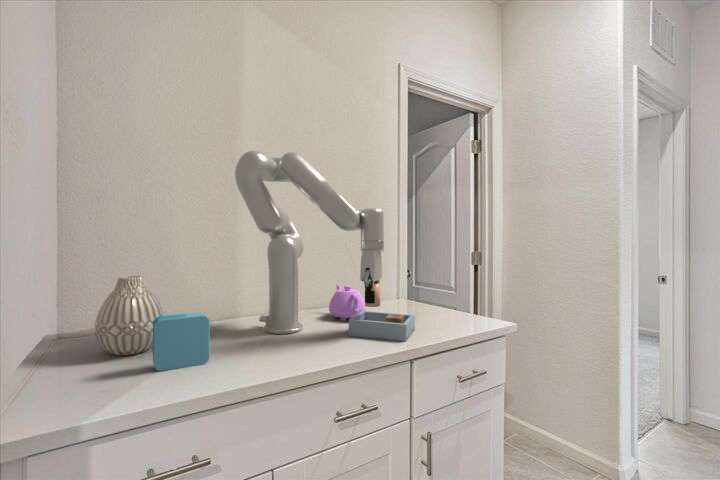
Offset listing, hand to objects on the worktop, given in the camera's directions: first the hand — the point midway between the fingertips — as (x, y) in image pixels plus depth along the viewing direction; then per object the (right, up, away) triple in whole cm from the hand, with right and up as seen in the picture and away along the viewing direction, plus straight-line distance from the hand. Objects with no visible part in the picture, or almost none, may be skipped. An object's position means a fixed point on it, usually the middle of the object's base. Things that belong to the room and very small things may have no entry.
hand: (372, 301), depth 124 cm
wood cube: (+7, -10, -2) cm, 12 cm away
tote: (+3, -10, -1) cm, 11 cm away
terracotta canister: (0, -1, 0) cm, 1 cm away
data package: (-47, -10, -33) cm, 58 cm away
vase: (-66, -10, -22) cm, 70 cm away
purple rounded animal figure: (-9, -10, +21) cm, 25 cm away
